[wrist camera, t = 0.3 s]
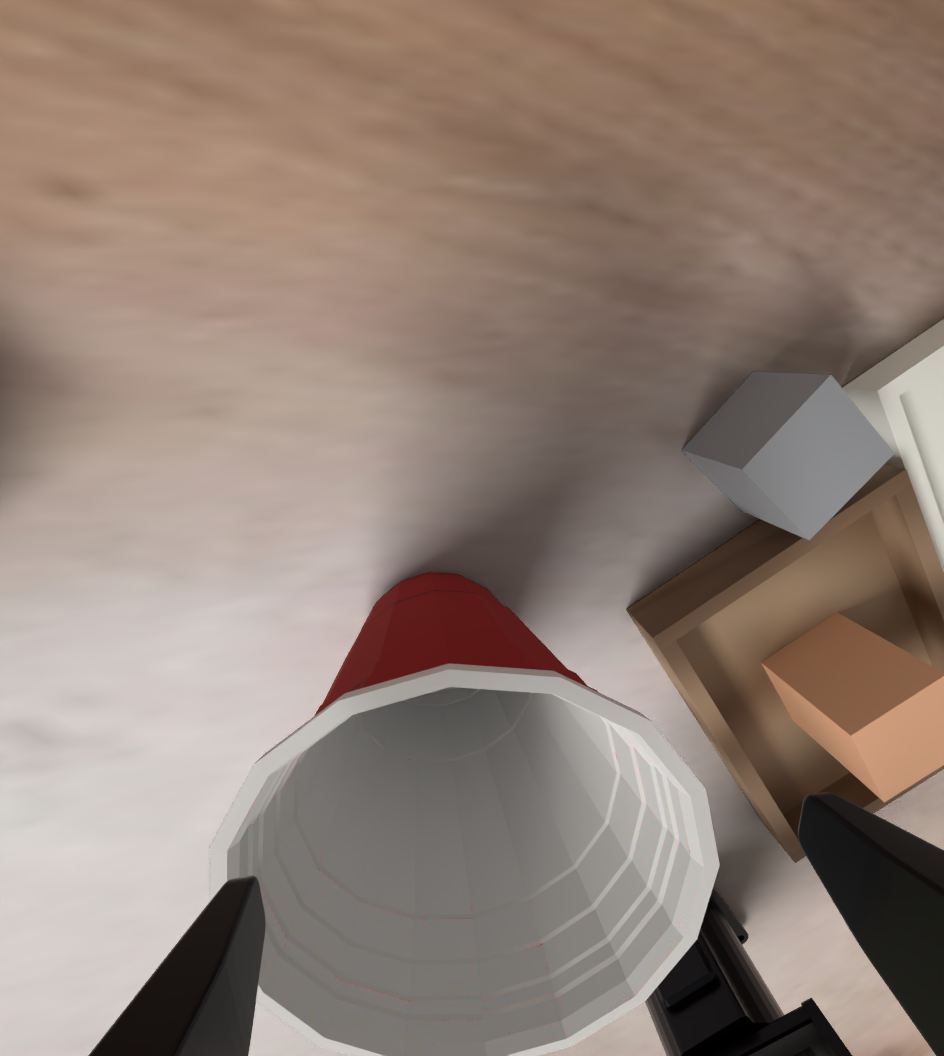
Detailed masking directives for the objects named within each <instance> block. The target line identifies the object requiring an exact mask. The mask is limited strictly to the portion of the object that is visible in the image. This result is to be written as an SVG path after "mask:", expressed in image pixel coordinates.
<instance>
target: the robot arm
mask: <svg viewBox="0 0 944 1056" xmlns="http://www.w3.org/2000/svg"><path fill="white" fill-rule="evenodd" d="M798 838H799V842H800V845H801V847H802V849H803V851H804V853H805V854H806V856H807V858H808V859H809V861H810V863H811V865H812V866H813V868H814V870H815V871H816V873H817V875H818V876H819V878H820V880H821V881H822V883H823V885H824V887H825V888H826V890H827V892H828V893H829V895H830V897H831V898H832V900H833V902H834V903H835V905H836V907H837V909H838V910H839V912H840V914H841V915H842V917H843V919H844V920H845V922H846V924H847V926H848V927H849V929H850V931H851V932H852V934H853V935H854V937H855V939H856V940H857V942H858V943H859V945H860V947H861V948H862V950H863V951H864V953H865V954H866V956H867V957H868V958H869V960H870V961H871V963H872V964H873V966H874V967H875V969H876V970H877V972H878V973H879V974H880V976H881V977H882V979H883V980H884V982H885V983H886V984H887V986H888V987H889V989H890V990H891V992H892V993H893V994H894V996H895V997H896V999H897V1000H898V1002H899V1003H900V1004H901V1006H902V1007H903V1009H904V1010H905V1012H906V1013H907V1014H908V1016H909V1017H910V1019H911V1020H912V1022H913V1023H914V1024H915V1026H916V1027H917V1029H918V1030H919V1032H920V1033H921V1034H922V1036H923V1037H924V1039H925V1040H926V1042H927V1043H928V1045H929V1046H930V1047H931V1049H932V1050H933V1052H934V1053H935V1055H936V1056H944V850H942V849H940V848H938V847H936V846H934V845H932V844H930V843H928V842H926V841H924V840H923V839H921V838H919V837H917V836H915V835H913V834H911V833H909V832H907V831H905V830H903V829H901V828H899V827H897V826H895V825H894V824H892V823H890V822H888V821H886V820H884V819H882V818H880V817H878V816H876V815H874V814H872V813H870V812H868V811H866V810H865V809H863V808H861V807H859V806H857V805H855V804H853V803H851V802H849V801H847V800H845V799H843V798H841V797H839V796H837V795H835V794H833V793H830V792H823V793H816V794H809V795H807V796H806V797H805V798H804V800H803V804H802V810H801V816H800V822H799V827H798ZM265 928H266V919H265V911H264V906H263V901H262V896H261V890H260V885H259V881H258V879H257V877H255V876H246V877H239V878H233V879H230V880H228V881H227V882H226V883H224V885H223V886H222V887H221V888H220V890H219V891H218V892H217V893H216V895H215V896H214V897H213V898H212V900H211V901H210V902H209V904H208V905H207V906H206V907H205V909H204V910H203V911H202V912H201V914H200V915H199V916H198V917H197V919H196V920H195V921H194V923H193V924H192V925H191V926H190V928H189V929H188V930H187V931H186V933H185V934H184V935H183V936H182V938H181V939H180V940H179V942H178V943H177V944H176V945H175V947H174V948H173V949H172V950H171V952H170V953H169V954H168V955H167V957H166V958H165V959H164V961H163V962H162V963H161V964H160V966H159V967H158V968H157V969H156V971H155V972H154V973H153V974H152V976H151V977H150V978H149V980H148V981H147V982H146V983H145V985H144V986H143V987H142V988H141V990H140V991H139V992H138V993H137V995H136V996H135V997H134V999H133V1000H132V1001H131V1002H130V1004H129V1005H128V1006H127V1007H126V1009H125V1010H124V1011H123V1012H122V1014H121V1015H120V1016H119V1018H118V1019H117V1020H116V1021H115V1023H114V1024H113V1025H112V1026H111V1028H110V1029H109V1030H108V1031H107V1033H106V1034H105V1035H104V1037H103V1038H102V1039H101V1040H100V1042H99V1043H98V1044H97V1045H96V1047H95V1048H94V1049H93V1050H92V1052H91V1053H90V1054H89V1056H248V1053H249V1046H250V1040H251V1033H252V1026H253V1018H254V1011H255V1004H256V996H257V989H258V982H259V974H260V967H261V960H262V953H263V945H264V938H265ZM747 939H748V934H747V932H746V930H745V929H744V927H743V926H742V924H741V923H740V922H739V920H738V919H737V918H736V916H735V915H734V914H733V912H732V911H731V910H730V908H729V907H728V905H727V904H726V903H725V901H724V900H723V899H722V897H721V896H720V895H719V893H718V892H717V891H716V889H715V888H714V887H713V889H712V892H711V896H710V899H709V902H708V905H707V909H706V912H705V915H704V918H703V922H702V925H701V928H700V931H699V935H698V938H697V940H696V941H695V942H694V944H693V945H692V946H691V947H690V948H689V949H688V951H687V952H686V953H685V954H684V955H683V957H682V958H681V959H680V960H679V961H678V963H677V964H676V965H675V966H674V967H673V969H672V970H671V971H670V972H669V973H668V975H667V976H666V977H665V978H664V979H663V981H662V982H661V983H660V984H659V985H658V987H657V988H656V989H655V990H654V991H653V993H652V994H651V995H650V996H649V997H648V999H647V1000H646V1001H645V1002H646V1005H647V1007H648V1010H649V1012H650V1015H651V1017H652V1020H653V1022H654V1025H655V1027H656V1030H657V1032H658V1035H659V1037H660V1040H661V1042H662V1045H663V1047H664V1050H665V1052H666V1055H667V1056H852V1055H851V1053H850V1052H849V1050H848V1049H847V1048H846V1046H845V1045H844V1043H843V1042H842V1040H841V1039H840V1038H839V1036H838V1035H837V1033H836V1032H835V1030H834V1029H833V1028H832V1026H831V1025H830V1023H829V1022H828V1021H827V1019H826V1018H825V1016H824V1015H823V1013H822V1012H821V1011H820V1009H819V1008H818V1006H817V1005H816V1003H815V1002H814V1001H813V999H812V998H810V999H808V1000H806V1001H804V1002H802V1003H801V1005H802V1006H801V1007H799V1008H797V1009H795V1010H793V1011H791V1012H789V1013H788V1014H786V1015H784V1014H783V1012H782V1010H781V1009H780V1007H779V1005H778V1004H777V1002H776V1000H775V999H774V997H773V996H772V994H771V992H770V991H769V989H768V987H767V986H766V984H765V982H764V981H763V979H762V977H761V976H760V974H759V972H758V971H757V969H756V967H755V966H754V964H753V962H752V961H751V959H750V957H749V956H748V954H747V952H746V951H745V949H744V947H743V946H742V944H743V943H745V942H746V941H747Z"/></svg>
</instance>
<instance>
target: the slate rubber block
mask: <svg viewBox="0 0 944 1056" xmlns="http://www.w3.org/2000/svg"><path fill="white" fill-rule="evenodd" d="M681 451H682V452H683V453H684V454H685V455H686V456H687V457H688V458H689V459H690V460H691V461H692V462H693V463H694V464H695V465H696V466H697V467H698V468H699V469H700V470H701V471H702V472H703V473H704V474H705V475H706V476H707V477H708V478H709V479H710V480H711V481H712V482H713V483H714V484H715V485H716V486H717V487H718V488H719V489H720V490H721V491H722V492H723V493H724V494H725V495H726V496H727V497H728V498H729V499H730V500H731V501H732V502H733V503H734V504H735V505H736V506H737V507H738V508H739V509H740V510H741V511H743V512H745V513H747V514H749V515H752V516H754V517H756V518H759V519H761V520H763V521H766V522H768V523H770V524H773V525H775V526H777V527H779V528H782V529H784V530H786V531H789V532H791V533H793V534H796V535H798V536H800V537H802V538H805V539H807V540H810V539H811V538H812V537H813V536H814V535H815V534H816V533H817V532H818V531H819V530H820V529H821V528H822V527H823V526H824V525H825V524H826V523H827V522H828V521H829V520H830V519H831V518H832V517H833V516H834V515H835V514H836V513H837V512H838V511H839V510H840V509H841V508H842V507H843V506H844V505H845V504H846V503H847V502H848V501H849V500H850V499H851V498H852V497H853V495H854V494H855V493H856V492H857V491H858V490H859V489H860V488H861V487H862V486H863V485H864V484H865V483H866V482H867V481H868V480H869V479H870V478H871V477H872V476H873V475H874V474H875V473H876V472H877V471H878V470H879V469H880V468H881V467H882V466H883V465H884V464H885V463H886V462H887V461H888V460H889V459H890V458H891V457H892V456H893V455H894V454H895V453H894V452H893V451H892V450H891V448H890V447H889V446H888V445H887V443H886V442H885V441H884V440H883V438H882V437H881V436H880V435H879V433H878V432H877V431H876V430H875V428H874V427H873V426H872V425H871V423H870V422H869V421H868V420H867V419H866V417H865V416H864V415H863V414H862V412H861V411H860V410H859V409H858V407H857V406H856V405H855V404H854V402H853V401H852V400H851V399H850V397H849V396H848V395H847V394H846V392H845V391H844V390H843V389H842V387H841V386H840V385H839V384H838V382H837V381H836V380H835V379H834V377H833V376H832V375H831V374H807V373H782V372H756V371H753V372H752V373H751V375H750V376H749V377H748V378H747V379H746V380H745V381H744V382H743V383H742V384H741V385H740V387H739V388H738V389H737V390H736V391H735V392H734V393H733V394H732V395H731V396H730V398H729V399H728V400H727V401H726V402H725V403H724V404H723V405H722V406H721V407H720V408H719V410H718V411H717V412H716V413H715V414H714V415H713V416H712V417H711V418H710V419H709V420H708V422H707V423H706V424H705V425H704V426H703V427H702V428H701V429H700V430H699V431H698V433H697V434H696V435H695V436H694V437H693V438H692V439H691V440H690V441H689V442H688V443H687V445H686V446H685V447H684V448H683V449H682V450H681Z"/></svg>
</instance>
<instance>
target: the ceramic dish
mask: <svg viewBox="0 0 944 1056" xmlns="http://www.w3.org/2000/svg"><path fill="white" fill-rule="evenodd" d="M842 389H843V390H844V391H845V392H846V394H847V395H848V396H849V397H850V399H851V400H852V401H853V402H854V404H855V405H856V406H857V407H858V409H859V410H860V411H861V412H862V414H863V415H864V416H865V417H866V419H867V420H868V421H869V422H870V423H871V425H872V426H873V427H874V428H875V430H876V431H877V432H878V433H879V435H880V436H881V437H882V438H883V440H884V441H885V442H886V443H887V445H888V446H889V447H890V448H891V450H892V451H893V452H894V453H895V454H894V455H893V456H892V457H891V458H890V459H889V460H888V461H887V462H886V463H885V465H890V466H895V467H899V468H904V469H906V470H907V473H908V476H909V478H910V481H911V484H912V487H913V489H914V492H915V495H916V498H917V500H918V503H919V506H920V509H921V511H922V514H923V517H924V520H925V522H926V525H927V528H928V531H929V533H930V536H931V539H932V542H933V544H934V547H935V550H936V553H937V555H938V558H939V561H940V564H941V566H942V569H943V572H944V319H943V320H941V321H940V322H938V323H937V324H935V325H934V326H932V327H931V328H929V329H928V330H926V331H925V332H923V333H922V334H920V335H919V336H918V337H916V338H915V339H913V340H912V341H910V342H909V343H907V344H906V345H904V346H903V347H901V348H900V349H898V350H897V351H895V352H894V353H893V354H891V355H890V356H888V357H887V358H885V359H884V360H882V361H881V362H879V363H878V364H876V365H875V366H873V367H872V368H871V369H869V370H868V371H866V372H865V373H863V374H862V375H860V376H859V377H857V378H856V379H854V380H853V381H851V382H850V383H848V384H847V385H846V386H844V387H843V388H842Z"/></svg>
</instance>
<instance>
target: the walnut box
mask: <svg viewBox="0 0 944 1056" xmlns="http://www.w3.org/2000/svg"><path fill="white" fill-rule="evenodd" d="M626 610H627V612H628V613H629V615H630V617H631V618H632V620H633V621H634V623H635V624H636V626H637V628H638V629H639V631H640V632H641V634H642V635H643V637H644V638H645V640H646V642H647V643H648V645H649V646H650V648H651V649H652V651H653V652H654V654H655V656H656V657H657V659H658V660H659V662H660V663H661V665H662V667H663V668H664V670H665V671H666V673H667V674H668V676H669V677H670V679H671V681H672V682H673V684H674V685H675V687H676V688H677V690H678V692H679V693H680V695H681V696H682V698H683V699H684V701H685V702H686V704H687V706H688V707H689V709H690V710H691V712H692V713H693V715H694V717H695V718H696V720H697V721H698V723H699V724H700V726H701V727H702V729H703V731H704V732H705V734H706V735H707V737H708V738H709V740H710V742H711V743H712V745H713V746H714V748H715V749H716V751H717V752H718V754H719V756H720V757H721V759H722V760H723V762H724V763H725V765H726V767H727V768H728V770H729V771H730V773H731V774H732V776H733V777H734V779H735V781H736V782H737V784H738V785H739V787H740V788H741V790H742V792H743V793H744V795H745V796H746V798H747V799H748V801H749V802H750V804H751V806H752V807H753V809H754V810H755V812H756V813H757V815H758V816H759V818H760V820H761V821H762V822H763V824H764V825H765V826H766V827H767V829H768V830H769V831H770V832H771V834H772V835H773V836H774V837H775V838H776V840H777V841H778V842H779V843H780V845H781V846H782V847H783V848H784V850H785V851H786V852H787V853H788V855H789V856H790V857H791V858H792V860H793V861H794V862H795V863H796V862H797V861H799V860H800V859H802V858H804V857H805V856H806V854H805V853H804V851H803V849H802V847H801V845H800V842H799V838H798V827H799V822H800V816H801V810H802V804H803V800H804V798H805V797H806V796H807V795H809V794H816V793H823V792H830V793H833V794H835V795H837V796H839V797H841V798H843V799H845V800H847V801H849V802H851V803H853V804H855V805H857V806H859V807H861V808H863V809H865V810H866V811H868V812H870V813H872V814H873V813H875V812H876V811H878V810H879V809H881V808H883V807H884V806H886V805H887V804H889V803H891V802H892V801H894V800H895V799H897V798H898V797H900V796H902V795H903V794H905V793H906V792H908V791H910V790H911V789H913V788H914V787H916V786H917V785H919V784H921V783H922V782H924V781H925V780H927V779H929V778H930V777H932V776H933V775H935V774H936V773H938V772H940V771H941V770H943V769H944V765H943V766H941V767H940V768H938V769H937V770H935V771H934V772H932V773H930V774H929V775H927V776H926V777H924V778H922V779H921V780H919V781H918V782H916V783H915V784H913V785H911V786H910V787H908V788H907V789H905V790H903V791H902V792H900V793H899V794H897V795H896V796H894V797H892V798H891V799H889V800H888V801H886V802H883V801H882V800H881V799H880V798H879V797H878V796H877V795H875V794H874V793H873V792H872V791H871V790H870V789H869V788H868V787H867V786H865V785H864V784H863V783H862V782H861V781H860V780H859V779H858V778H856V777H855V776H854V775H853V774H852V773H851V772H850V771H849V770H848V769H846V768H845V767H844V766H843V765H842V764H841V763H840V762H839V761H838V760H836V759H835V758H834V757H833V756H832V755H831V754H830V753H829V752H827V751H826V750H825V749H824V748H823V747H822V746H821V745H820V744H819V743H817V742H816V741H815V740H814V739H813V738H812V737H811V736H810V735H808V734H807V733H806V732H805V731H804V730H803V729H802V728H801V727H800V726H798V725H797V724H796V723H795V722H794V721H793V720H792V718H791V716H790V714H789V712H788V711H787V709H786V707H785V705H784V703H783V702H782V700H781V698H780V696H779V694H778V692H777V691H776V689H775V687H774V685H773V683H772V682H771V680H770V678H769V676H768V674H767V673H766V671H765V669H764V667H763V665H762V663H761V662H763V661H764V660H766V659H767V658H769V657H770V656H772V655H773V654H775V653H776V652H778V651H779V650H781V649H782V648H784V647H785V646H787V645H788V644H790V643H792V642H793V641H795V640H796V639H798V638H799V637H801V636H802V635H804V634H805V633H807V632H808V631H810V630H811V629H813V628H814V627H816V626H817V625H819V624H820V623H822V622H824V621H825V620H827V619H828V618H830V617H831V616H833V615H834V614H836V613H839V614H841V615H843V616H845V617H846V618H848V619H850V620H852V621H853V622H855V623H857V624H859V625H860V626H862V627H864V628H866V629H867V630H869V631H871V632H873V633H875V634H876V635H878V636H880V637H882V638H883V639H885V640H887V641H889V642H890V643H892V644H894V645H896V646H897V647H899V648H901V649H903V650H904V651H906V652H908V653H910V654H912V655H913V656H915V657H917V658H919V659H920V660H922V661H924V662H926V663H927V664H929V665H931V666H933V667H934V668H936V669H938V670H940V671H941V672H943V673H944V572H943V569H942V566H941V564H940V561H939V558H938V555H937V553H936V550H935V547H934V544H933V542H932V539H931V536H930V533H929V531H928V528H927V525H926V522H925V520H924V517H923V514H922V511H921V509H920V506H919V503H918V500H917V498H916V495H915V492H914V489H913V487H912V484H911V481H910V478H909V476H908V473H907V470H906V469H904V468H899V467H895V466H890V465H885V464H884V465H883V466H882V467H881V468H880V469H879V470H878V471H877V472H876V473H875V474H874V475H873V476H872V477H871V478H870V479H869V480H868V481H867V482H866V483H865V484H864V485H863V486H862V487H861V488H860V489H859V490H858V491H857V492H856V493H855V494H854V495H853V497H852V498H851V499H850V500H849V501H848V502H847V503H846V504H845V505H844V506H843V507H842V508H841V509H840V510H839V511H838V512H837V513H836V514H835V515H834V516H833V517H832V518H831V519H830V520H829V521H828V522H827V523H826V524H825V525H824V526H823V527H822V528H821V529H820V530H819V531H818V532H817V533H816V534H815V535H814V536H813V537H812V538H811V539H810V540H807V539H805V538H802V537H800V536H798V535H796V534H793V533H791V532H789V531H786V530H784V529H782V528H779V527H777V526H775V525H773V524H770V523H768V522H766V521H763V520H761V519H760V520H759V521H757V522H756V523H754V524H753V525H751V526H750V527H748V528H747V529H745V530H744V531H742V532H741V533H739V534H738V535H737V536H735V537H734V538H732V539H731V540H729V541H728V542H726V543H725V544H723V545H722V546H720V547H719V548H717V549H716V550H714V551H713V552H711V553H710V554H708V555H707V556H705V557H704V558H702V559H701V560H699V561H698V562H696V563H695V564H693V565H692V566H690V567H689V568H687V569H686V570H684V571H683V572H681V573H680V574H678V575H677V576H676V577H674V578H673V579H671V580H670V581H668V582H667V583H665V584H664V585H662V586H661V587H659V588H658V589H656V590H655V591H653V592H652V593H650V594H649V595H647V596H646V597H644V598H643V599H641V600H640V601H638V602H637V603H635V604H634V605H632V606H631V607H629V608H628V609H626Z"/></svg>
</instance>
